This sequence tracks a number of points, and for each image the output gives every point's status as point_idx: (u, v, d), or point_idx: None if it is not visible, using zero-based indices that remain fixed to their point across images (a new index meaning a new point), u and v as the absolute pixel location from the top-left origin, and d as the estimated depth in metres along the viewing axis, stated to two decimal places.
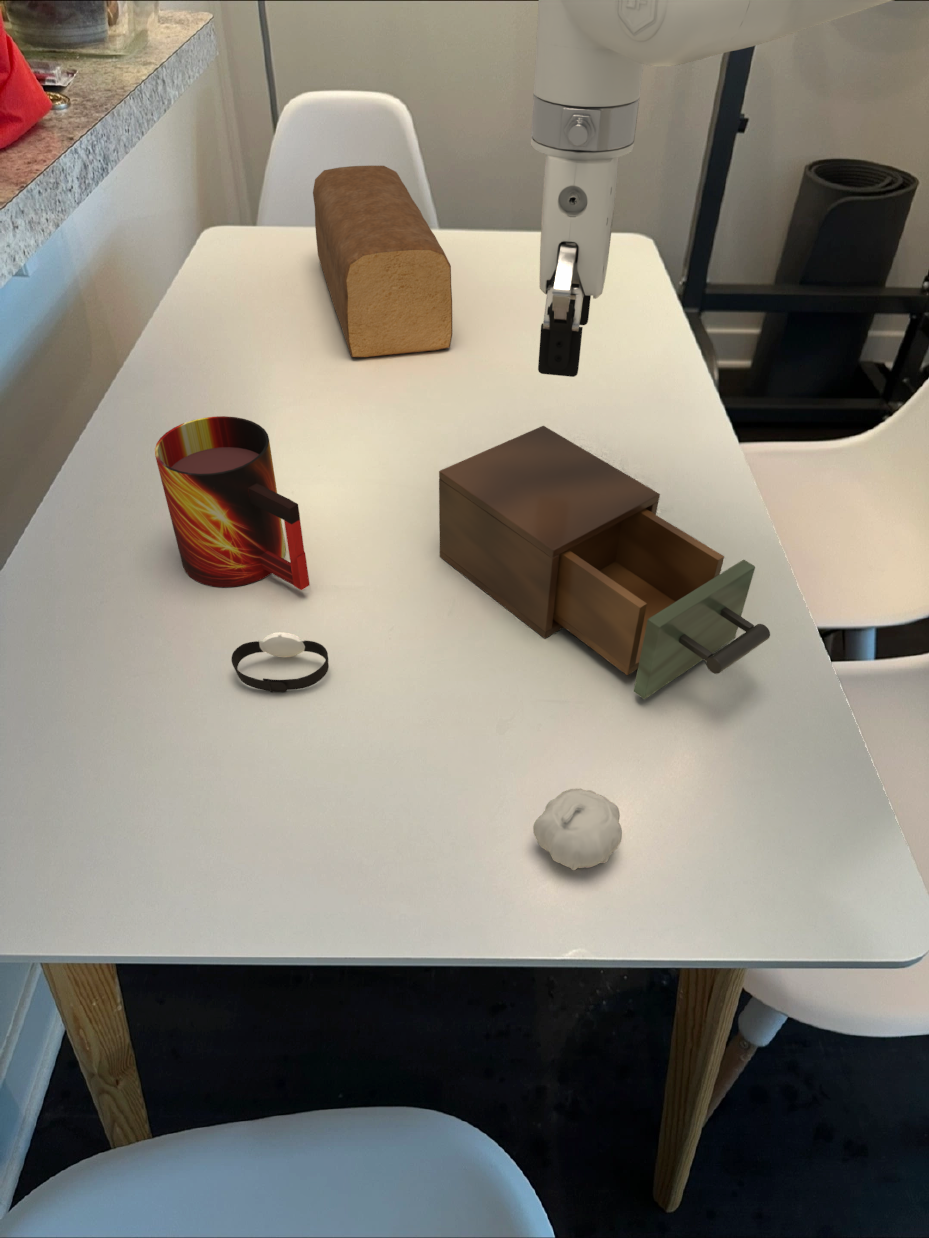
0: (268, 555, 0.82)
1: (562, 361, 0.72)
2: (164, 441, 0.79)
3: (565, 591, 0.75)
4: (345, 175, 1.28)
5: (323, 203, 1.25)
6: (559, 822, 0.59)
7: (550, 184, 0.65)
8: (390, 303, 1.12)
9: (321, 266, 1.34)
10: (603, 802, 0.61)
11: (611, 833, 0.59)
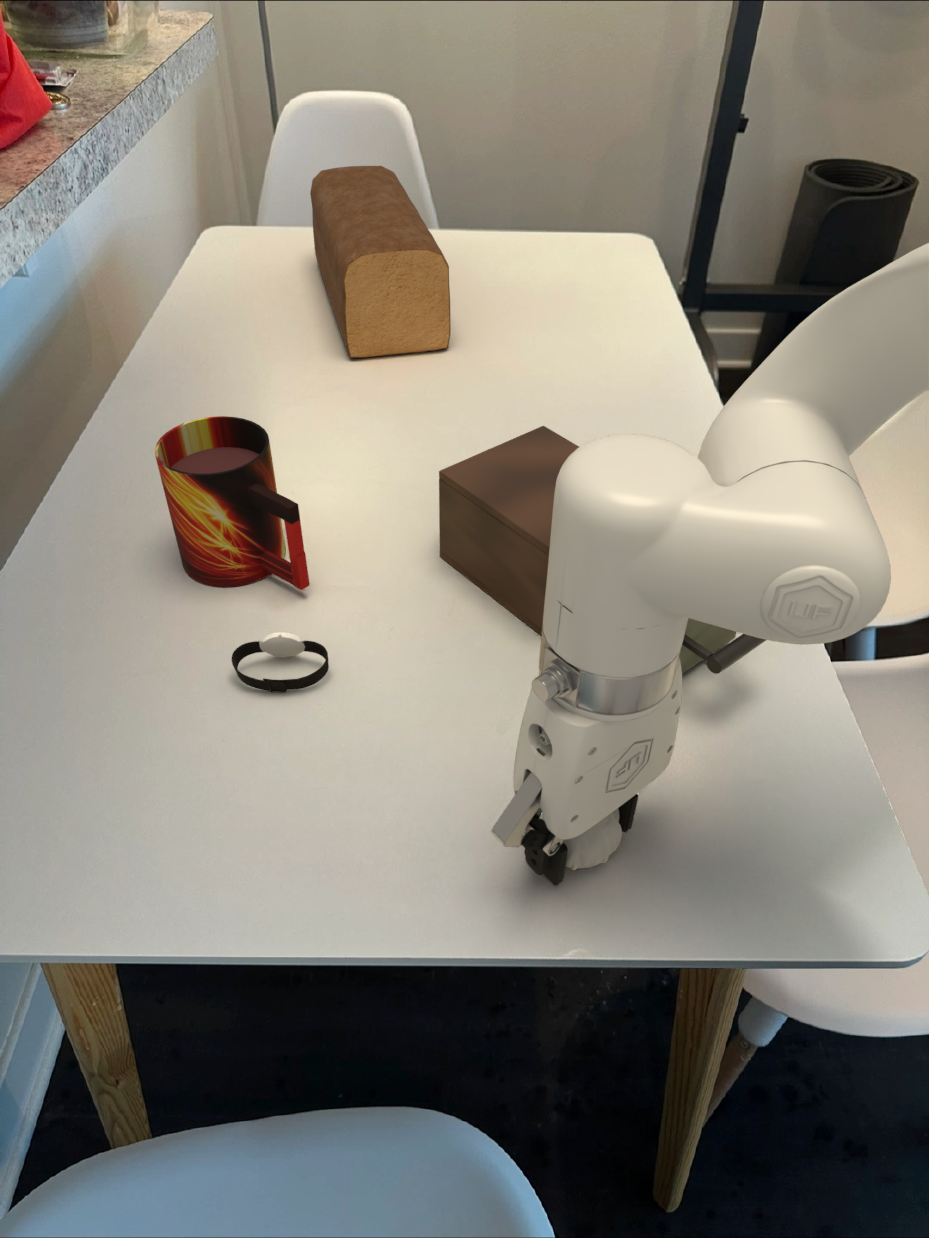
0: (268, 555, 0.82)
1: (537, 867, 0.59)
2: (164, 441, 0.79)
3: None
4: (342, 175, 1.28)
5: (321, 203, 1.25)
6: None
7: (526, 708, 0.51)
8: (388, 303, 1.12)
9: (319, 266, 1.34)
10: None
11: (610, 833, 0.59)
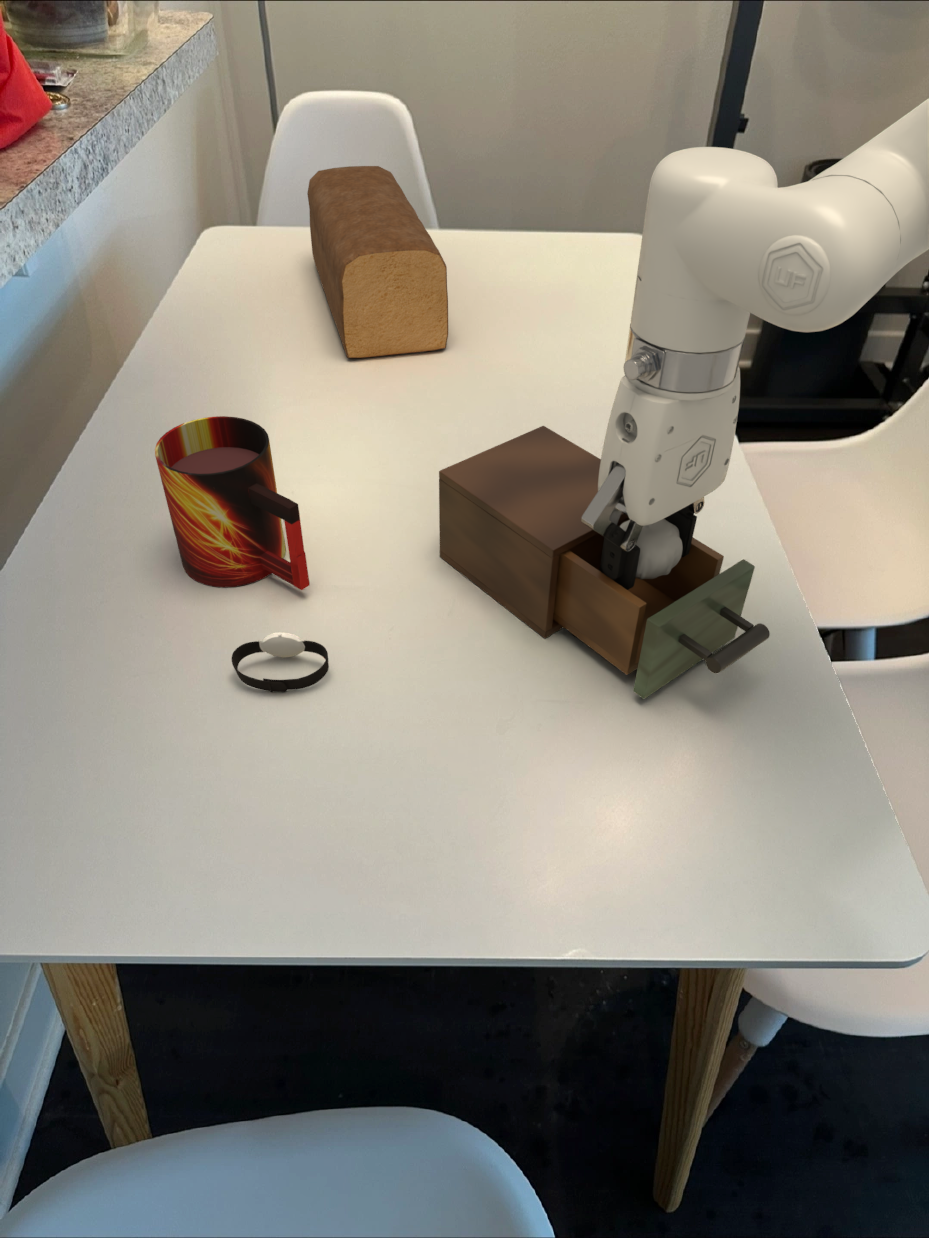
0: (268, 555, 0.82)
1: (613, 571, 0.70)
2: (164, 441, 0.79)
3: (565, 591, 0.75)
4: (339, 175, 1.28)
5: (318, 203, 1.25)
6: None
7: (614, 404, 0.63)
8: (386, 304, 1.12)
9: (316, 267, 1.34)
10: (666, 522, 0.72)
11: (674, 544, 0.71)
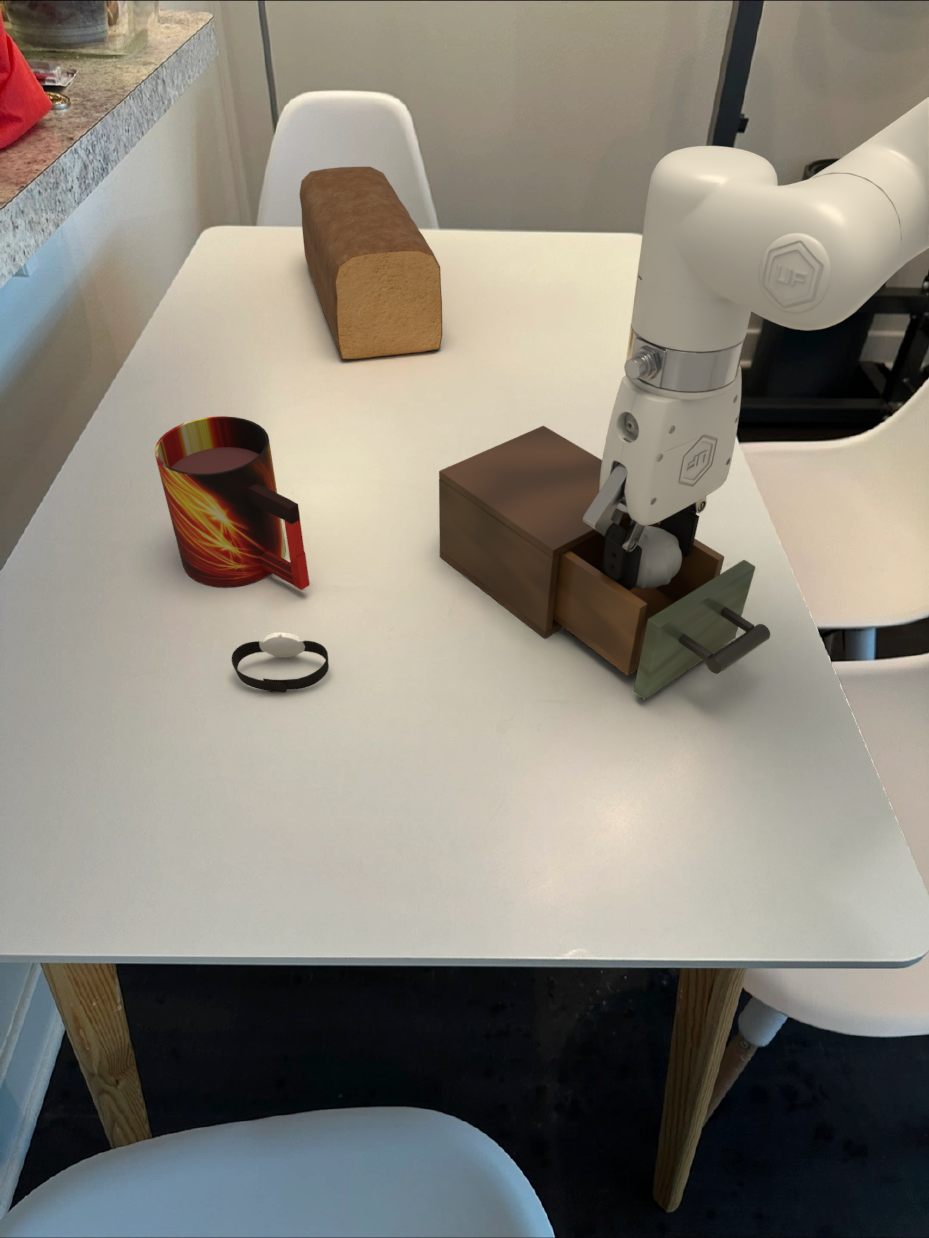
0: (268, 555, 0.82)
1: (615, 571, 0.70)
2: (164, 441, 0.79)
3: (565, 591, 0.75)
4: (331, 176, 1.28)
5: (311, 204, 1.24)
6: None
7: (615, 403, 0.62)
8: (380, 305, 1.12)
9: (309, 268, 1.33)
10: (665, 532, 0.73)
11: (673, 553, 0.71)
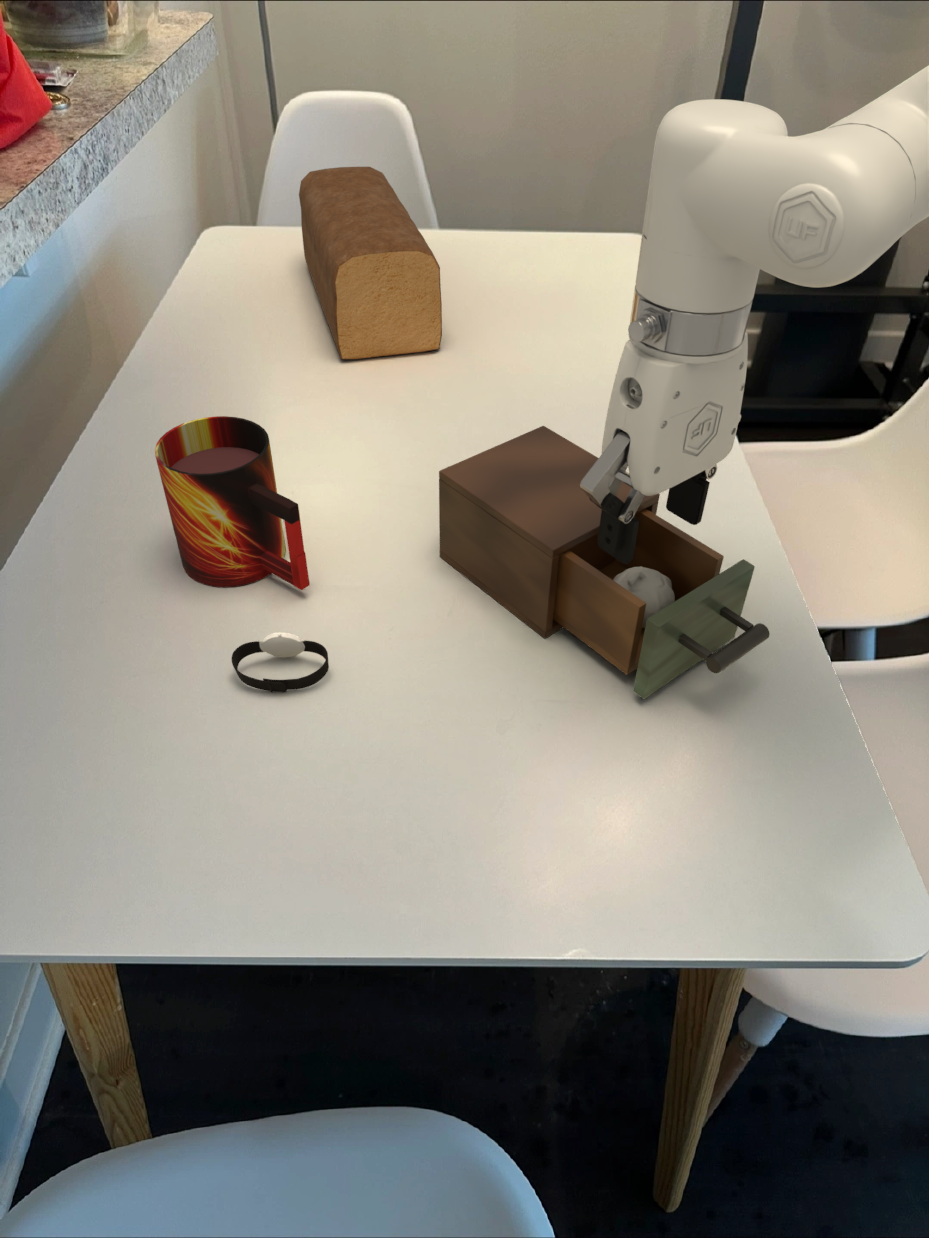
0: (268, 555, 0.82)
1: (611, 545, 0.68)
2: (164, 441, 0.79)
3: (565, 591, 0.75)
4: (331, 176, 1.28)
5: (310, 204, 1.24)
6: (625, 587, 0.74)
7: (618, 369, 0.61)
8: (380, 305, 1.12)
9: (308, 268, 1.33)
10: (659, 574, 0.75)
11: (666, 595, 0.74)
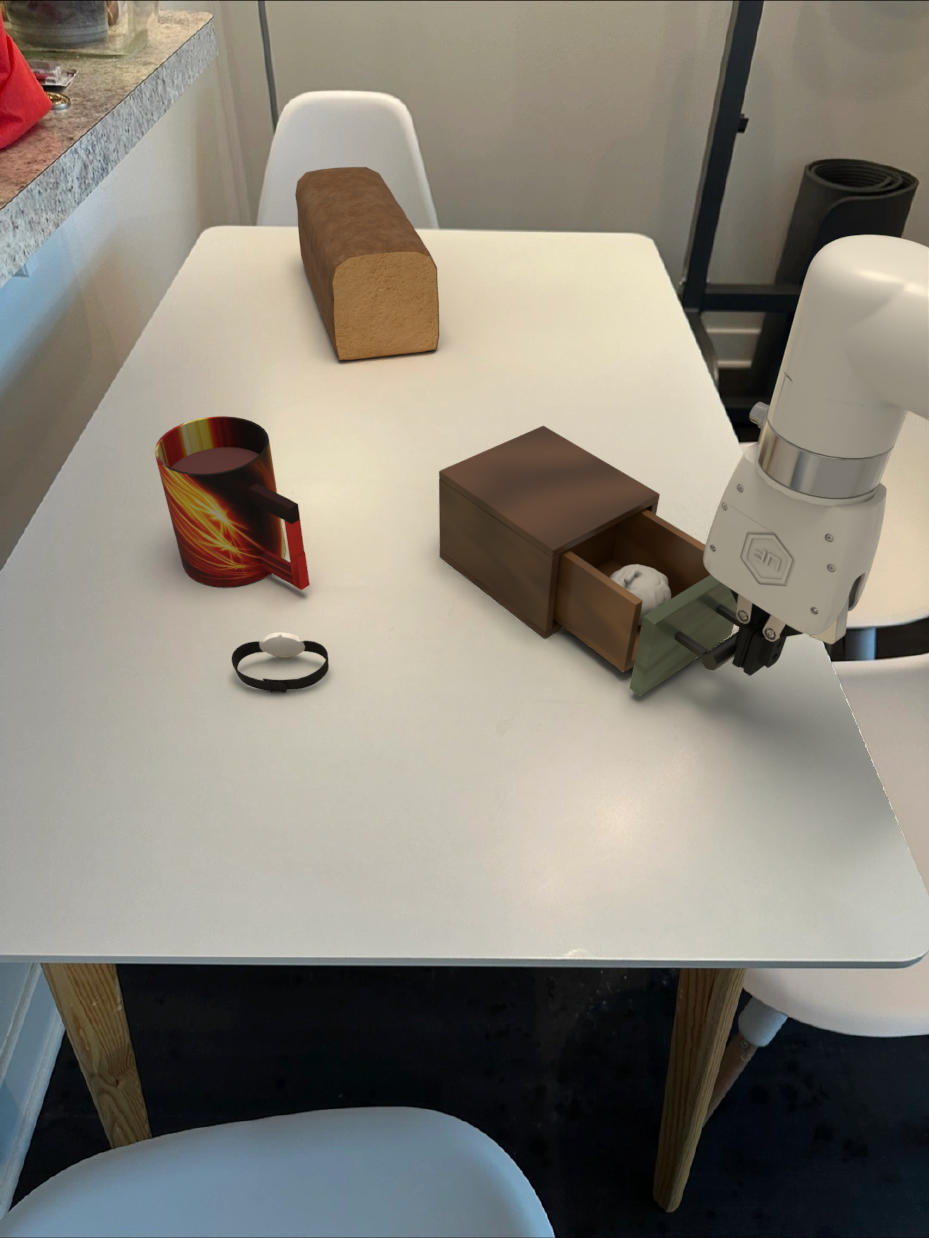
0: (268, 555, 0.82)
1: None
2: (164, 441, 0.79)
3: (561, 588, 0.75)
4: (327, 176, 1.28)
5: (307, 205, 1.24)
6: (621, 585, 0.74)
7: None
8: (377, 305, 1.12)
9: (305, 268, 1.33)
10: (656, 572, 0.75)
11: (663, 593, 0.74)
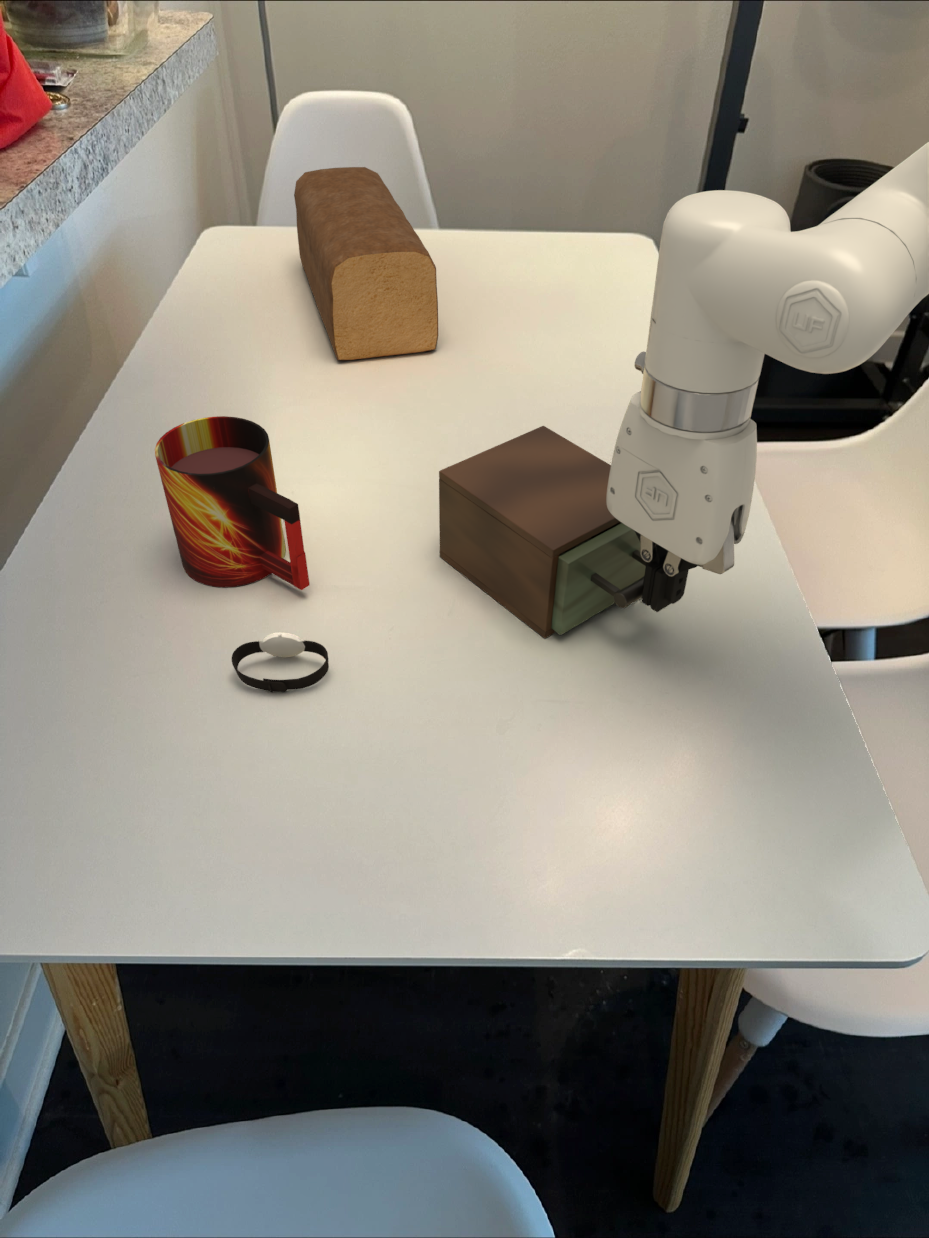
0: (268, 555, 0.82)
1: None
2: (164, 441, 0.79)
3: None
4: (326, 177, 1.27)
5: (305, 205, 1.24)
6: None
7: None
8: (376, 305, 1.12)
9: (304, 269, 1.33)
10: None
11: None
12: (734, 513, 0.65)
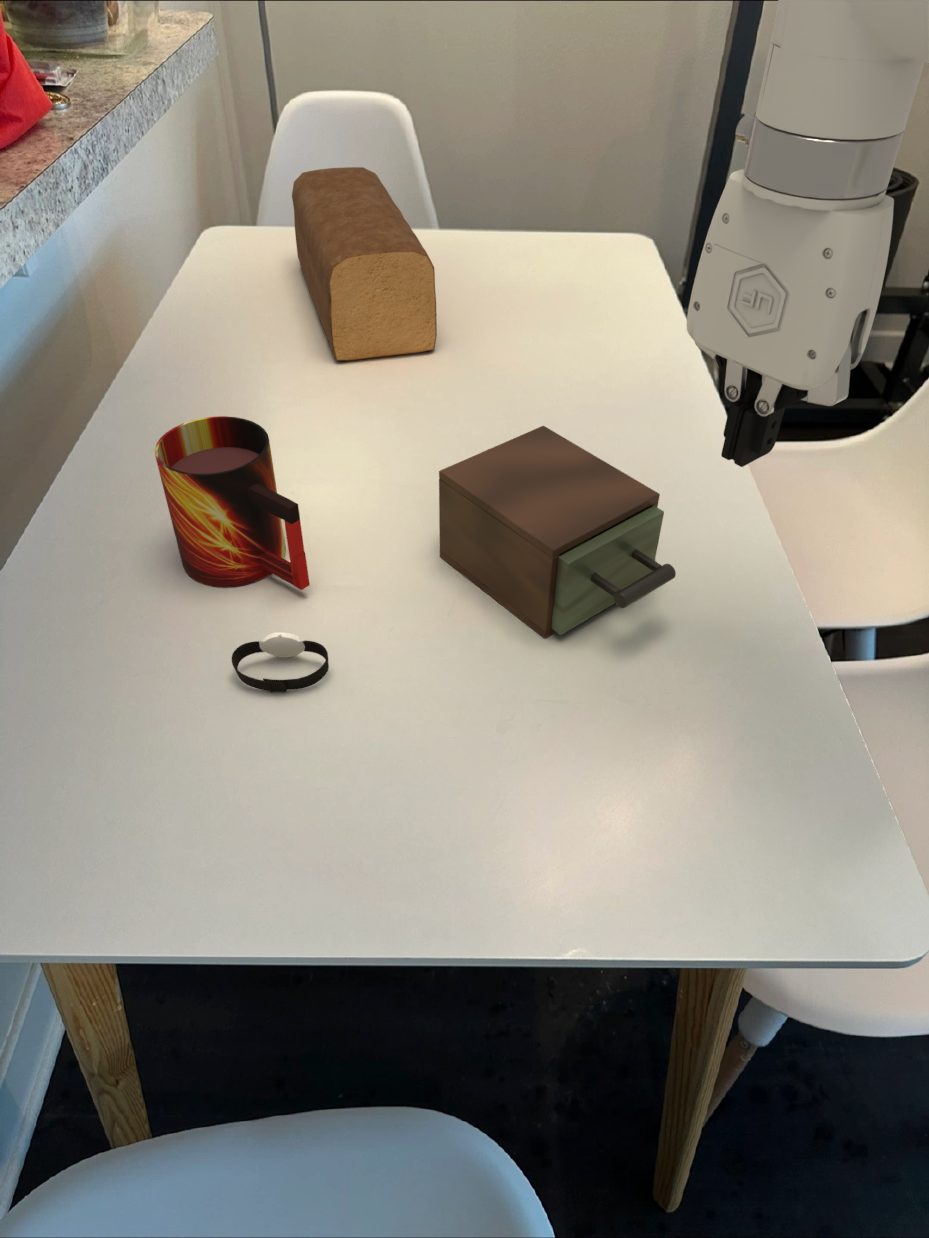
0: (268, 555, 0.82)
1: None
2: (164, 441, 0.79)
3: None
4: (324, 177, 1.27)
5: (303, 205, 1.24)
6: None
7: None
8: (374, 306, 1.12)
9: (302, 269, 1.33)
10: None
11: None
12: (854, 324, 0.52)
